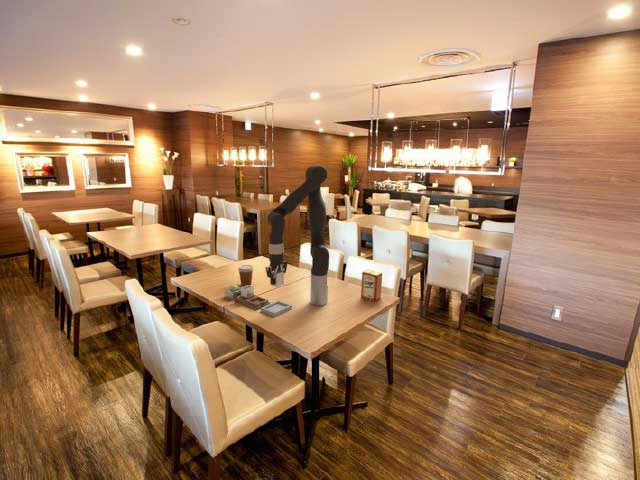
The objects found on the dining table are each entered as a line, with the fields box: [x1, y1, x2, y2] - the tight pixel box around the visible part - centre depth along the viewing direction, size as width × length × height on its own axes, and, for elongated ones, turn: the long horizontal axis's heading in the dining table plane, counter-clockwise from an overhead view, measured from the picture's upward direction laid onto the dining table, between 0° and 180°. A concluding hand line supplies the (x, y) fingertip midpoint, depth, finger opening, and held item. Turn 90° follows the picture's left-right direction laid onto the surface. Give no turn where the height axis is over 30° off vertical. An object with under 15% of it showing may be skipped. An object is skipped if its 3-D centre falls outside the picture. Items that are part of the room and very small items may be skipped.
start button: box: [230, 284, 238, 291], centre depth 188 cm, size 3×3×4 cm
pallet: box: [234, 294, 271, 311], centre depth 181 cm, size 10×18×2 cm, turn 53°
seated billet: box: [240, 285, 255, 300], centre depth 183 cm, size 5×5×7 cm
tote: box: [260, 300, 293, 318], centre depth 173 cm, size 13×10×2 cm
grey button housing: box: [224, 286, 241, 302], centre depth 188 cm, size 8×8×4 cm
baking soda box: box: [360, 269, 383, 302], centre depth 191 cm, size 10×6×16 cm
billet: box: [269, 271, 285, 288], centre depth 169 cm, size 5×5×7 cm
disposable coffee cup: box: [237, 264, 254, 287], centre depth 207 cm, size 10×10×12 cm
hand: (276, 283), depth 170 cm, fingers closed on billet, 5 cm apart
